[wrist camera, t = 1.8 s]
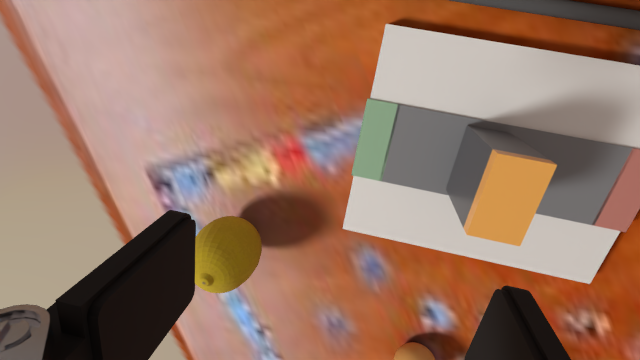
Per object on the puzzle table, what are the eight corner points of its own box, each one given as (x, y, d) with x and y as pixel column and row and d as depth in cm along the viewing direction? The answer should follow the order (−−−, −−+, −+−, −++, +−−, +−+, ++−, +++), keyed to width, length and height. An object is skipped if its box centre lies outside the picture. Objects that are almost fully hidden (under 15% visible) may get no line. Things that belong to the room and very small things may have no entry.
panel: (697, 76, 22) (716, 78, 21) (584, 275, 28) (593, 286, 27) (383, 24, 24) (383, 23, 23) (341, 221, 30) (340, 229, 29)
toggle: (511, 133, 24) (557, 165, 17) (486, 197, 26) (519, 246, 19) (467, 124, 24) (497, 153, 18) (445, 189, 26) (466, 234, 20)
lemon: (209, 237, 33) (160, 292, 26) (226, 191, 31) (178, 237, 24) (260, 262, 33) (226, 324, 26) (281, 218, 31) (250, 272, 24)
